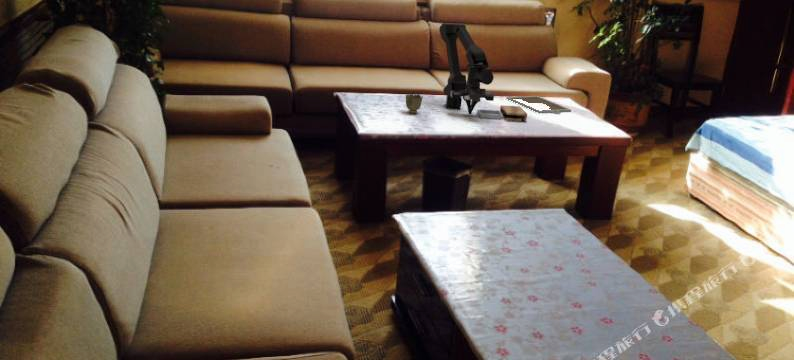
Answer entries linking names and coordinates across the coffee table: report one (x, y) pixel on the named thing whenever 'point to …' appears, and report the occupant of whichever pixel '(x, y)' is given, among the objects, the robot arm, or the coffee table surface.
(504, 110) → the overhang
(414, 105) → the cup
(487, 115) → the grey shallow tray
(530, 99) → the grey picture frame
